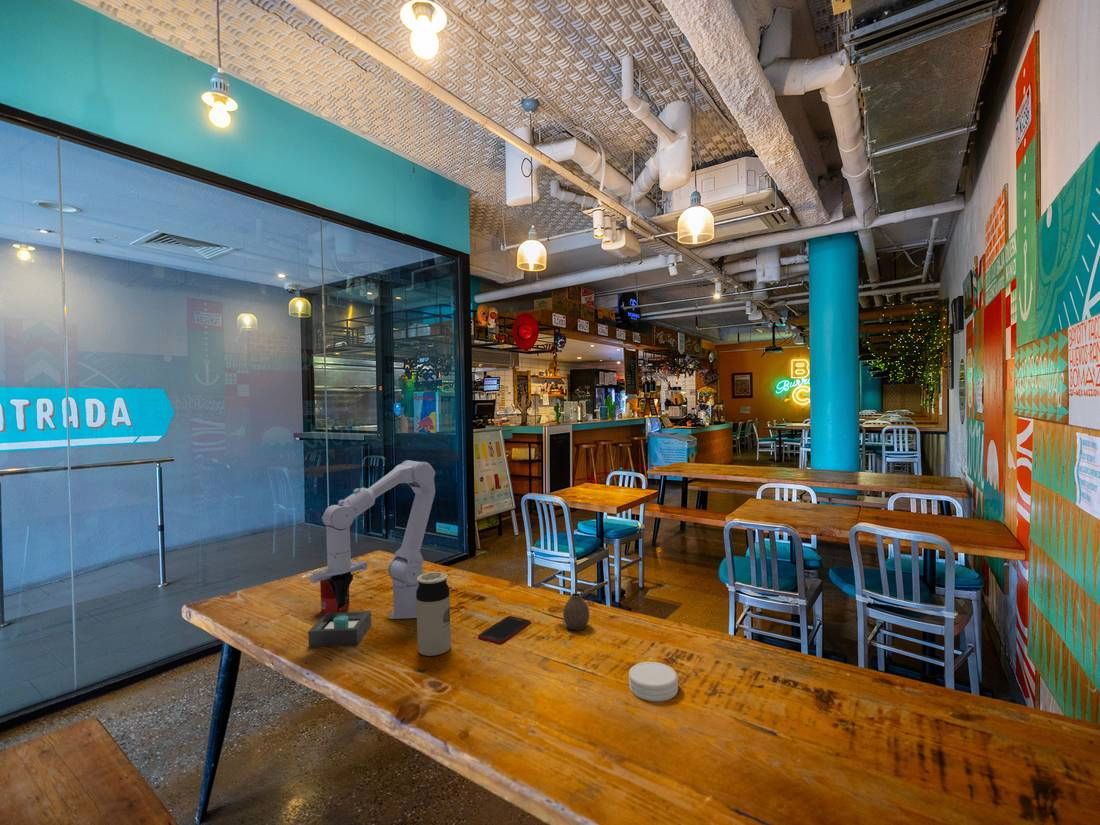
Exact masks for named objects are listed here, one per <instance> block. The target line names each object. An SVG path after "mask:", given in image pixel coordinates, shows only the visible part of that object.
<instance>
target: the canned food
mask: <svg viewBox="0 0 1100 825" xmlns="http://www.w3.org/2000/svg"><path fill="white" fill-rule="evenodd" d="M319 583H320V586H319V588H320V589H319V590H320V611H321V613H322V614H323V615H325V614H326V613H327V612H348V610H349V609H350V587H349V588H348V591H347V595H346V599H345V603H343V604H338V603H336V598H335V595H334V592H333V590H332V588H331V586H330V584H329V583H328V581H327V579H325V580H321V581H319Z"/></svg>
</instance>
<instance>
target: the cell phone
mask: <svg viewBox="0 0 1100 825" xmlns="http://www.w3.org/2000/svg"><path fill="white" fill-rule="evenodd" d="M531 624H532V622H531V620H530V619H525V618H522V617H517V616H512V615H508V616H506V617H504V618H502V619H501V620H500V621H498V622H497V623H495V624H493V625H492V626H490V627H489V628H486V629H485V630H484V631H482V632H481V633H480V634H478V635H477V639H478V640H481V641H483V642H489V643H493V644H496V645H503V644H505V643H506V642H507V641H509V640H510V639H511V638H514V637H515V636H516V635H517V634H519V633H520V631H523V630H524V629H526V628H527V627H528V626H530V625H531Z"/></svg>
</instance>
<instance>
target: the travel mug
mask: <svg viewBox="0 0 1100 825" xmlns="http://www.w3.org/2000/svg"><path fill="white" fill-rule="evenodd" d="M448 578H449V576H448V573H446V572H442V571H431V572H429V571H428V572H425V573H423V574H422V575H420V576H418V577H417V581H418V584H419V586H418V588H417V590H416V604H417V618H416V633H417V637H416V638H417V652H418V653H419V654H420V655H423V656H428V657H435V656H440V655H443V654H445V653H447V652H448V651H449V650H450V649H451V647H452V644H451V643H452V642H451V641H452V638H451V636H452V635H451V634H452V633H451V632H452V631H451V604H450V602H451V601H450V587H449V584H448V582H447V581H448Z"/></svg>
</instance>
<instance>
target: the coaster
mask: <svg viewBox="0 0 1100 825" xmlns="http://www.w3.org/2000/svg"><path fill="white" fill-rule="evenodd" d="M678 676H679V675H678V673H677V672H676V670H674V668H672V667H671V666H669V665H668V664H665V663H661V662H658V661H657V662H656V661H643V662H639V663H637V664H634V665H633V666H632V667H630V669H629V670H628V682H629V683H628V686H629V689H630V692H631V693H632V694H633V695H635V696H636V697H638V698H640V699H642V700H644V701H649V702H664V701H668V700H671V699H673V698H674V697H675V696H676V695H677V694H678V691H679V687H678V685H679V681H678V678H679V677H678Z"/></svg>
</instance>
